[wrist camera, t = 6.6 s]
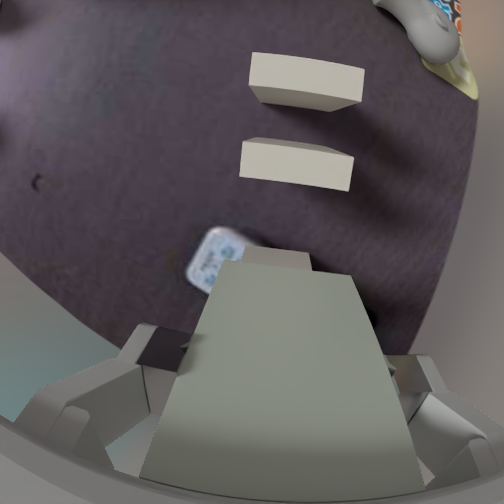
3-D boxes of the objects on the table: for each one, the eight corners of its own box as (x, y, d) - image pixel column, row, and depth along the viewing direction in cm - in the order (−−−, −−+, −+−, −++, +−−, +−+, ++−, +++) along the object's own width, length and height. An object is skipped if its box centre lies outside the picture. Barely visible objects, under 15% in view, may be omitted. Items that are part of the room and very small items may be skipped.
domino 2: (257, 137, 21) (242, 141, 13) (325, 146, 21) (353, 157, 13) (254, 158, 22) (239, 176, 14) (322, 167, 22) (348, 191, 14)
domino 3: (245, 244, 25) (228, 305, 16) (308, 253, 25) (321, 317, 16) (243, 263, 25) (226, 329, 17) (305, 271, 25) (315, 340, 17)
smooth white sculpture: (447, 56, 18) (418, 77, 18) (389, -18, 16) (353, -5, 16) (481, 43, 14) (456, 63, 14) (416, -41, 12) (380, -32, 12)
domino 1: (263, 81, 20) (252, 52, 12) (332, 91, 20) (364, 69, 11) (260, 102, 20) (248, 85, 12) (330, 112, 20) (361, 101, 12)
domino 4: (224, 259, 12) (138, 475, 4) (350, 275, 12) (425, 490, 4) (221, 295, 13) (152, 505, 4) (341, 309, 13) (389, 518, 4)
